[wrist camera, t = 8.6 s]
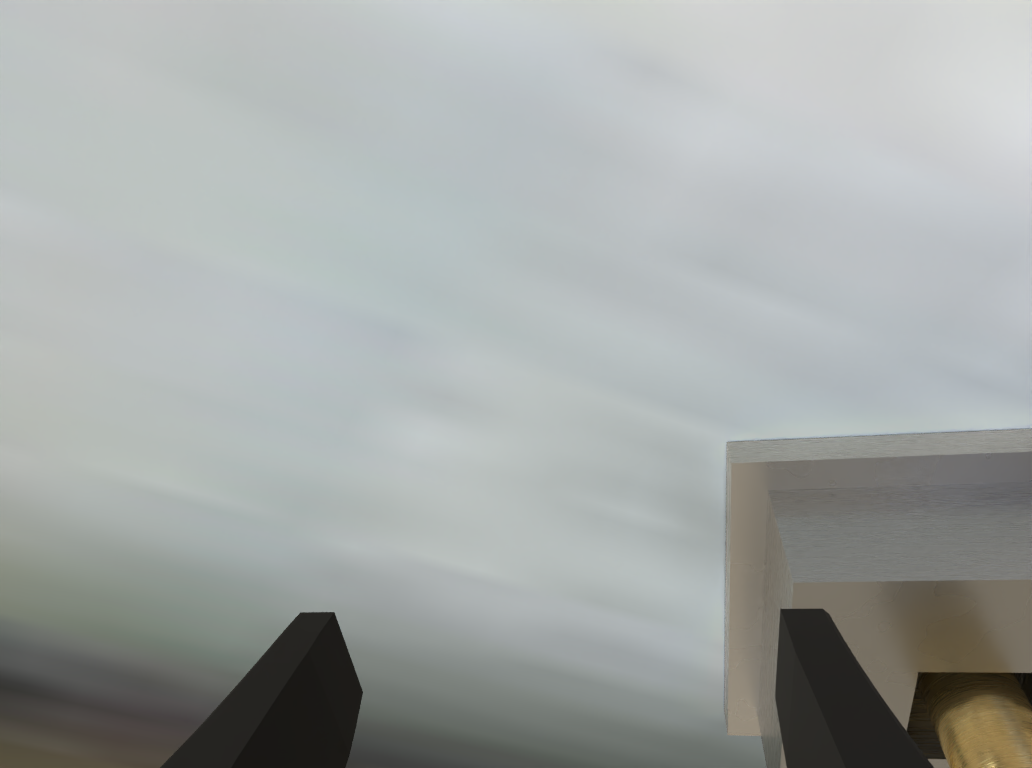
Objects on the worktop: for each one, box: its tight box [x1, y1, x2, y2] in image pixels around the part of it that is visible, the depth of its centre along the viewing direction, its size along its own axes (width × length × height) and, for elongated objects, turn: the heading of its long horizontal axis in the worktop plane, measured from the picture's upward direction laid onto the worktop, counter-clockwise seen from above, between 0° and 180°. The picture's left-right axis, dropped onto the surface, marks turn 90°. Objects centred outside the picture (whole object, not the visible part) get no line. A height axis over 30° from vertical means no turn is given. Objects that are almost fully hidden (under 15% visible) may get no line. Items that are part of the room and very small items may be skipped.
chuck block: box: [724, 429, 1032, 768], centre depth 22 cm, size 12×12×4 cm
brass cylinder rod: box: [916, 672, 1032, 768], centre depth 19 cm, size 2×2×8 cm
